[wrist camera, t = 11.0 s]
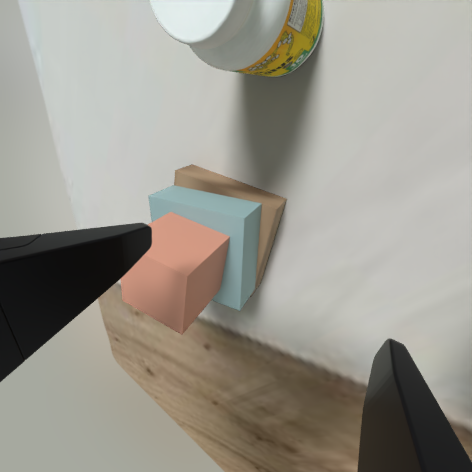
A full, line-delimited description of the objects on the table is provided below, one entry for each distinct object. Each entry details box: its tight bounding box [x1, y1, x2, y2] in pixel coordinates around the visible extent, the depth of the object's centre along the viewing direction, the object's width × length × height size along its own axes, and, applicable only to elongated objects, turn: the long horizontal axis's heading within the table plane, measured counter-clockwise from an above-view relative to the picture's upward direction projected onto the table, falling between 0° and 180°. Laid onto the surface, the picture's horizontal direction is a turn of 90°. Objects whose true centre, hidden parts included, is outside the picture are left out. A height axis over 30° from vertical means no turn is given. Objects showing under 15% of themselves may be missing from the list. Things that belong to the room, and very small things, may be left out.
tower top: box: [149, 185, 262, 311], centre depth 22 cm, size 8×8×3 cm
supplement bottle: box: [149, 0, 324, 77], centre depth 13 cm, size 5×5×10 cm
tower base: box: [174, 165, 287, 297], centre depth 24 cm, size 9×9×3 cm
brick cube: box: [121, 212, 230, 334], centre depth 19 cm, size 5×5×5 cm
